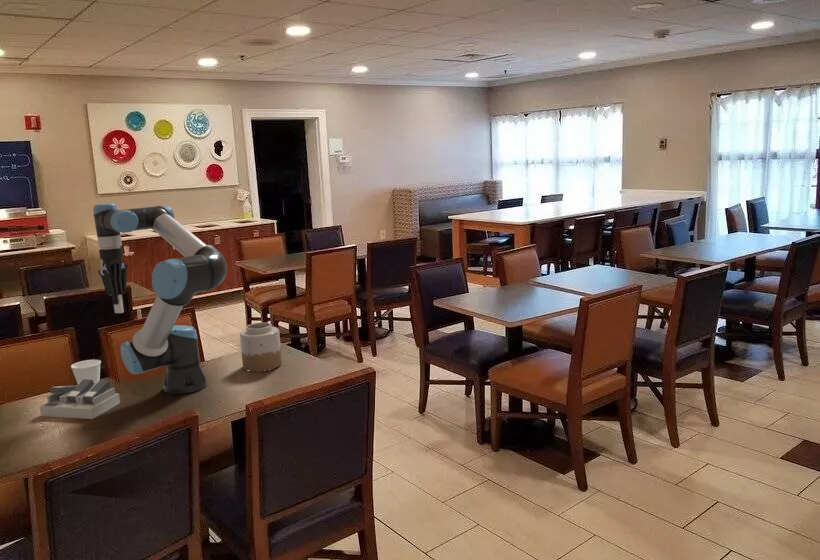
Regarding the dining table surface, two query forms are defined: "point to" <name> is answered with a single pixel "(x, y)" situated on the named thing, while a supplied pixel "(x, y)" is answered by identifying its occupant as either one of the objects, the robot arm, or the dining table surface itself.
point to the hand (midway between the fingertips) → (119, 312)
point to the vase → (260, 347)
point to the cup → (87, 371)
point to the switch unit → (79, 405)
